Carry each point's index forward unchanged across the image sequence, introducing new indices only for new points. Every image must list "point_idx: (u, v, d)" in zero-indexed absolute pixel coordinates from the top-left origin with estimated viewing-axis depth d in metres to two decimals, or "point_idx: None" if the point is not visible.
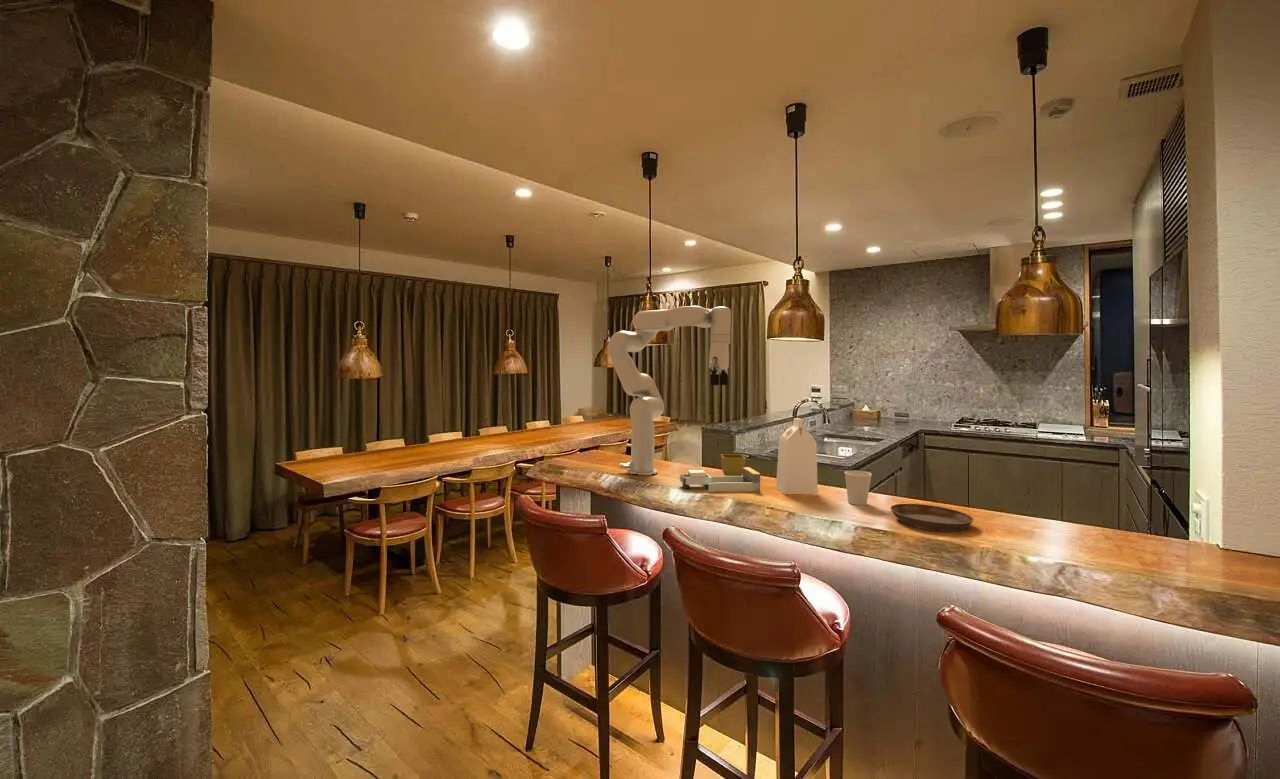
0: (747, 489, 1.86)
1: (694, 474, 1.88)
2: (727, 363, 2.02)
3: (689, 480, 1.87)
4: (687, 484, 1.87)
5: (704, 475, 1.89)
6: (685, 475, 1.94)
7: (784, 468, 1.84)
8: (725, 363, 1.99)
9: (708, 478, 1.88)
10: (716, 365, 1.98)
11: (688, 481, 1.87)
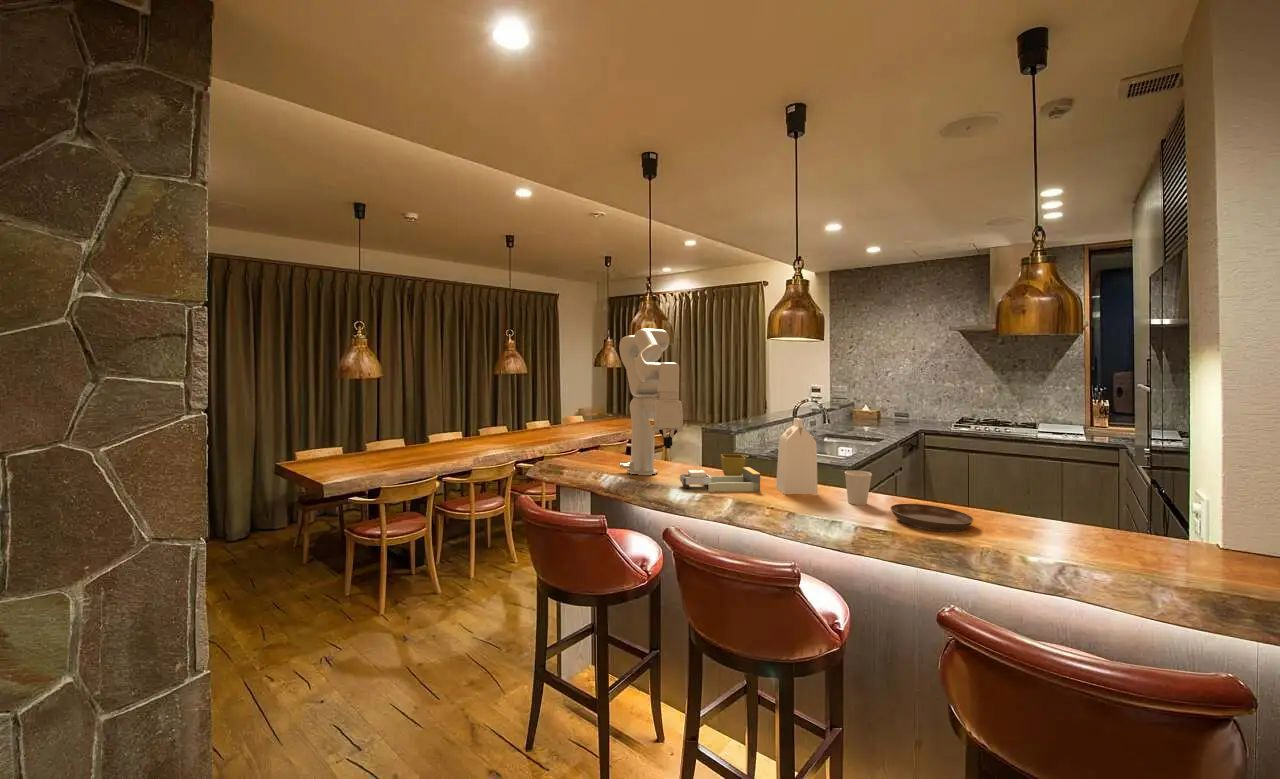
0: (747, 489, 1.86)
1: (694, 474, 1.88)
2: None
3: (689, 480, 1.87)
4: (687, 484, 1.87)
5: (704, 475, 1.89)
6: (685, 475, 1.94)
7: (784, 468, 1.84)
8: None
9: (708, 478, 1.88)
10: None
11: (688, 481, 1.87)
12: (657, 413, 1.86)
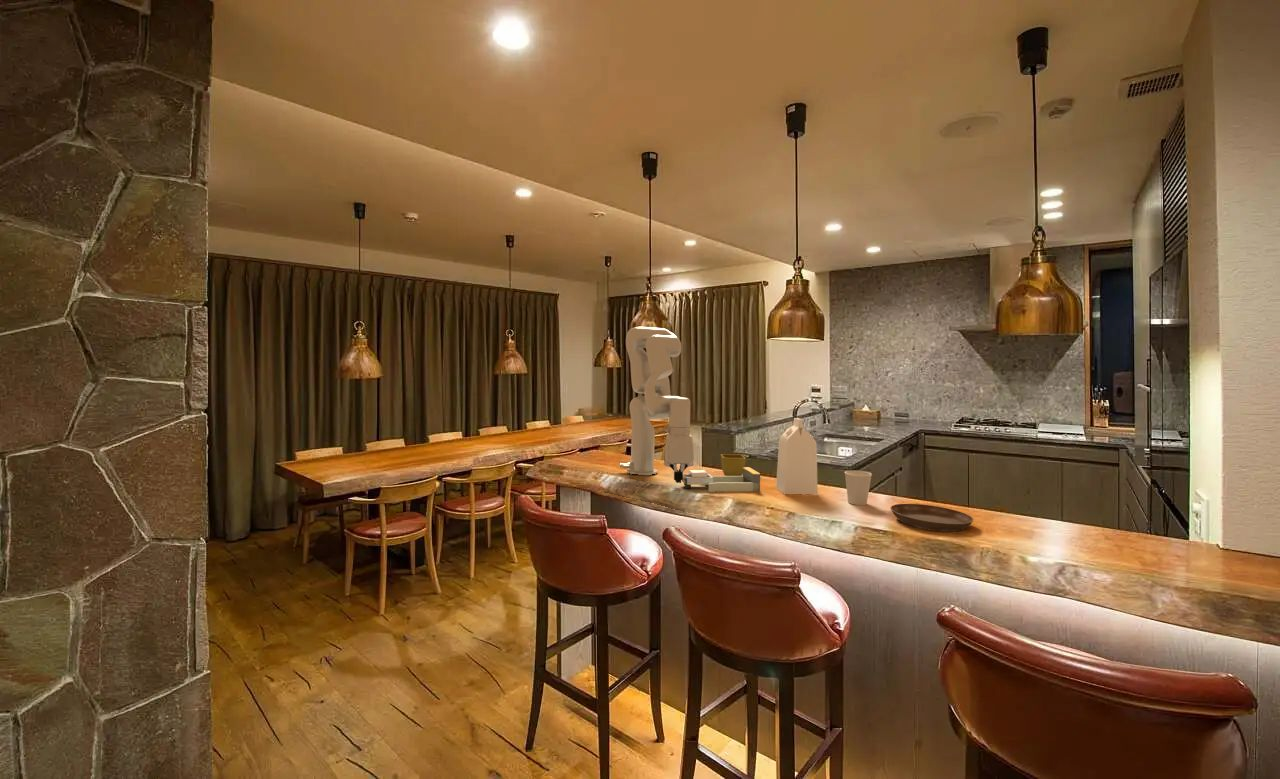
0: (747, 489, 1.86)
1: (696, 474, 1.88)
2: None
3: (691, 480, 1.87)
4: (689, 484, 1.88)
5: (706, 475, 1.89)
6: (687, 475, 1.94)
7: (784, 468, 1.84)
8: None
9: (710, 478, 1.88)
10: None
11: (690, 481, 1.87)
12: (668, 448, 1.87)
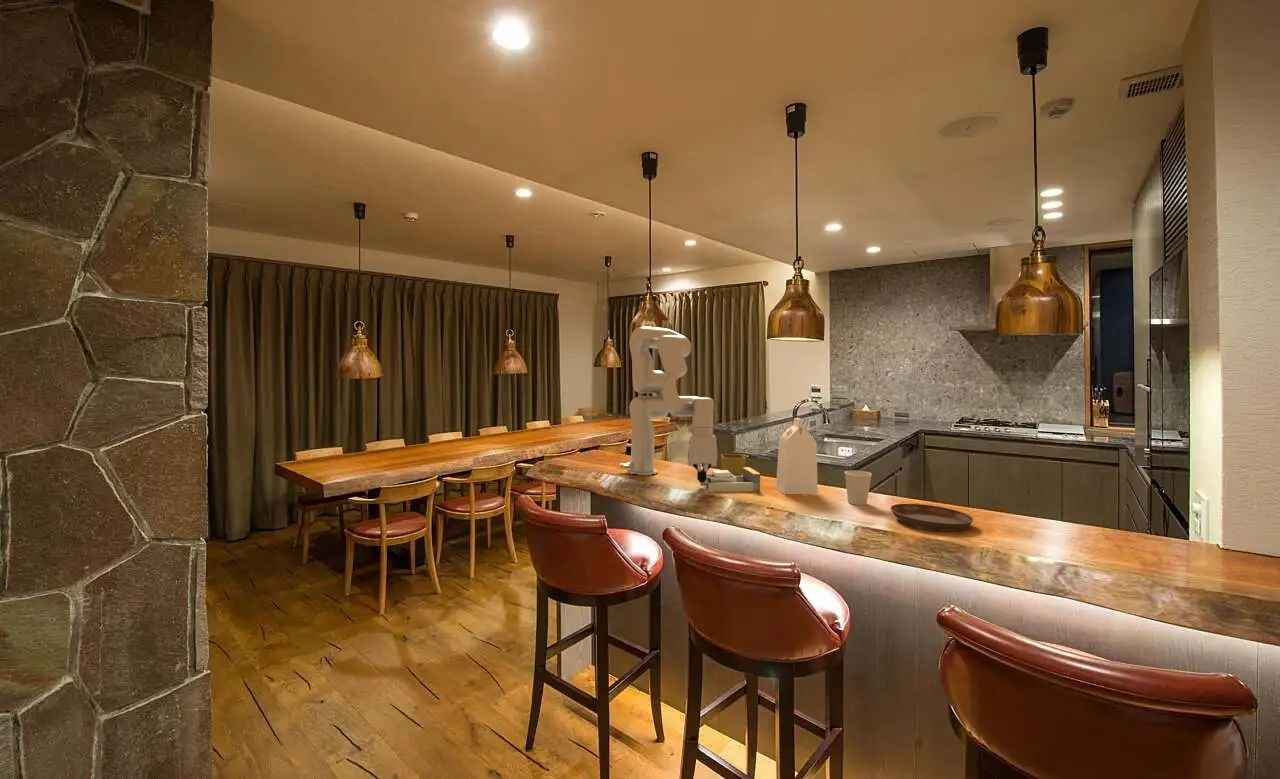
0: (747, 489, 1.86)
1: (719, 474, 1.89)
2: None
3: (714, 480, 1.88)
4: None
5: (729, 475, 1.89)
6: (709, 475, 1.94)
7: (784, 468, 1.84)
8: None
9: (733, 478, 1.89)
10: None
11: (713, 481, 1.88)
12: (692, 448, 1.88)
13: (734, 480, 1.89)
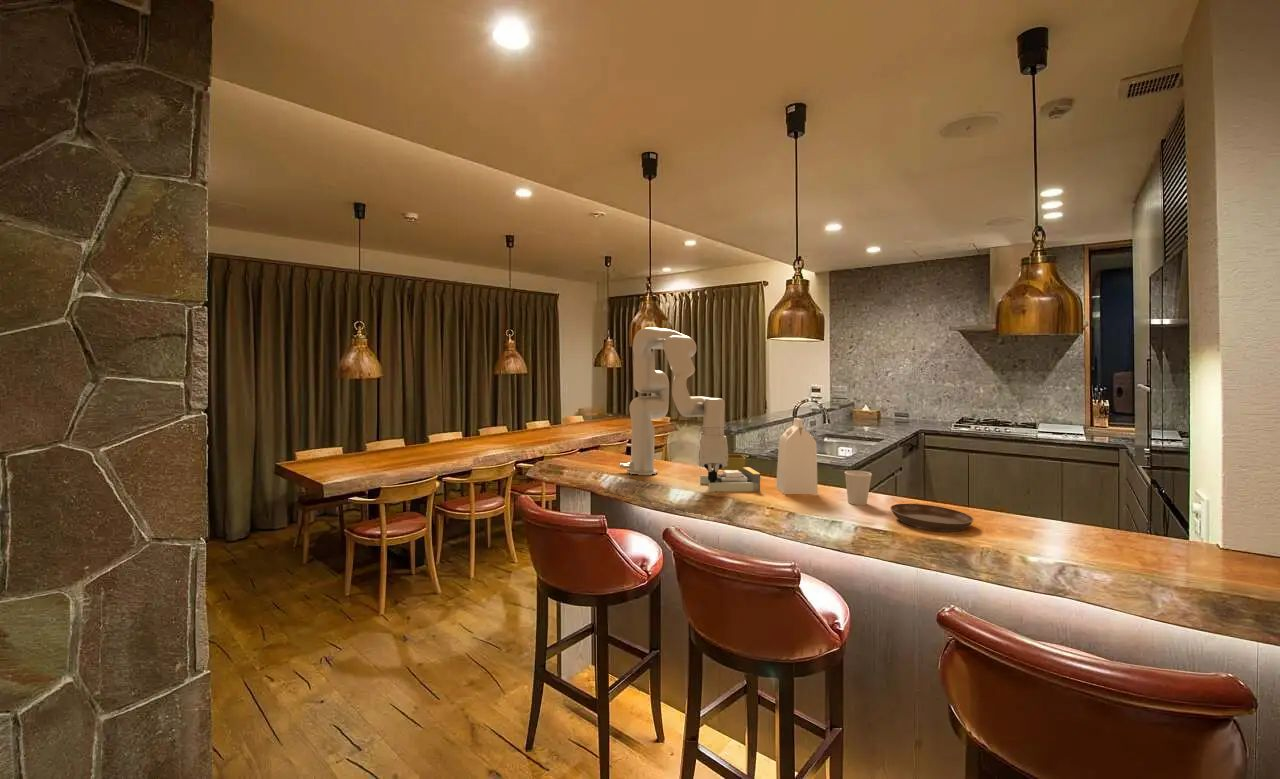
0: (747, 489, 1.86)
1: (730, 474, 1.90)
2: None
3: (725, 480, 1.89)
4: None
5: (740, 475, 1.90)
6: (720, 475, 1.95)
7: (784, 468, 1.84)
8: None
9: (744, 478, 1.89)
10: None
11: (724, 481, 1.89)
12: (703, 448, 1.88)
13: (745, 480, 1.89)
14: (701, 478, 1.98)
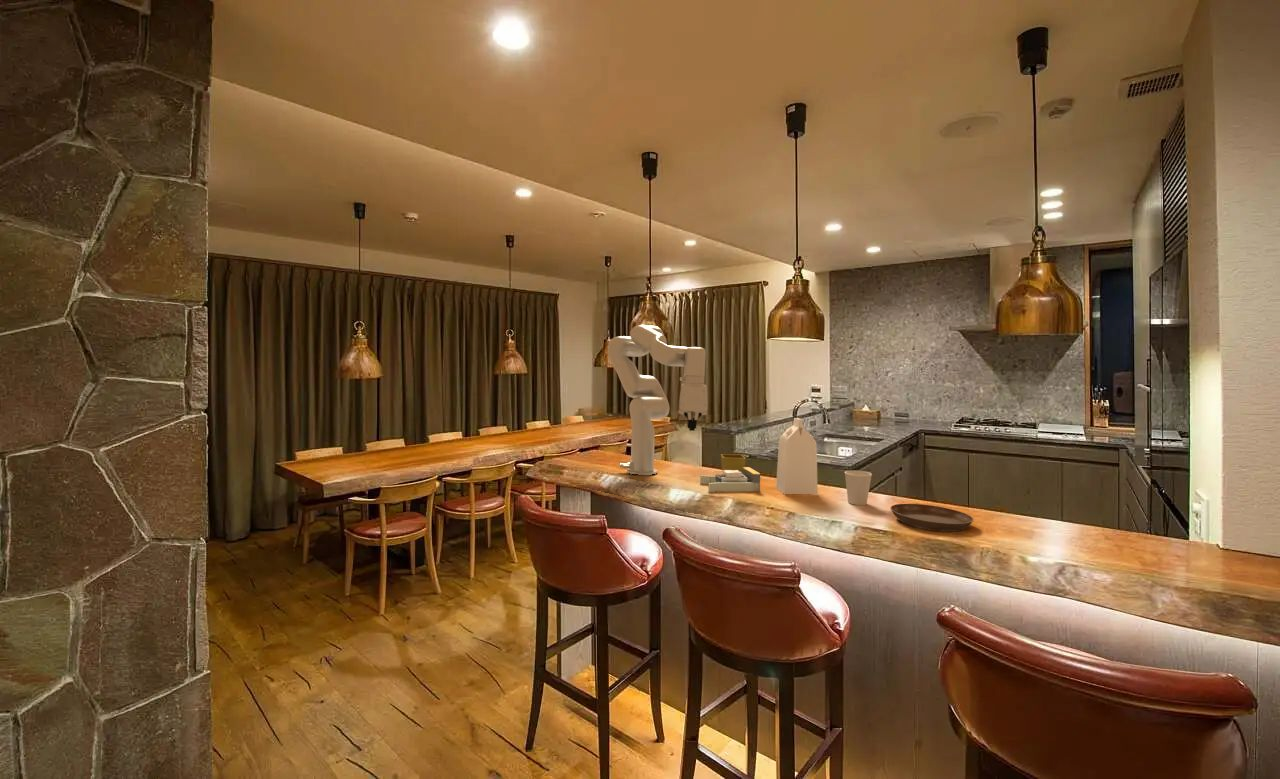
0: (747, 489, 1.86)
1: (730, 474, 1.90)
2: None
3: (725, 480, 1.89)
4: None
5: (740, 475, 1.90)
6: (720, 475, 1.95)
7: (784, 468, 1.84)
8: None
9: (744, 478, 1.89)
10: None
11: (724, 481, 1.89)
12: (683, 396, 1.92)
13: (745, 480, 1.89)
14: (701, 478, 1.98)
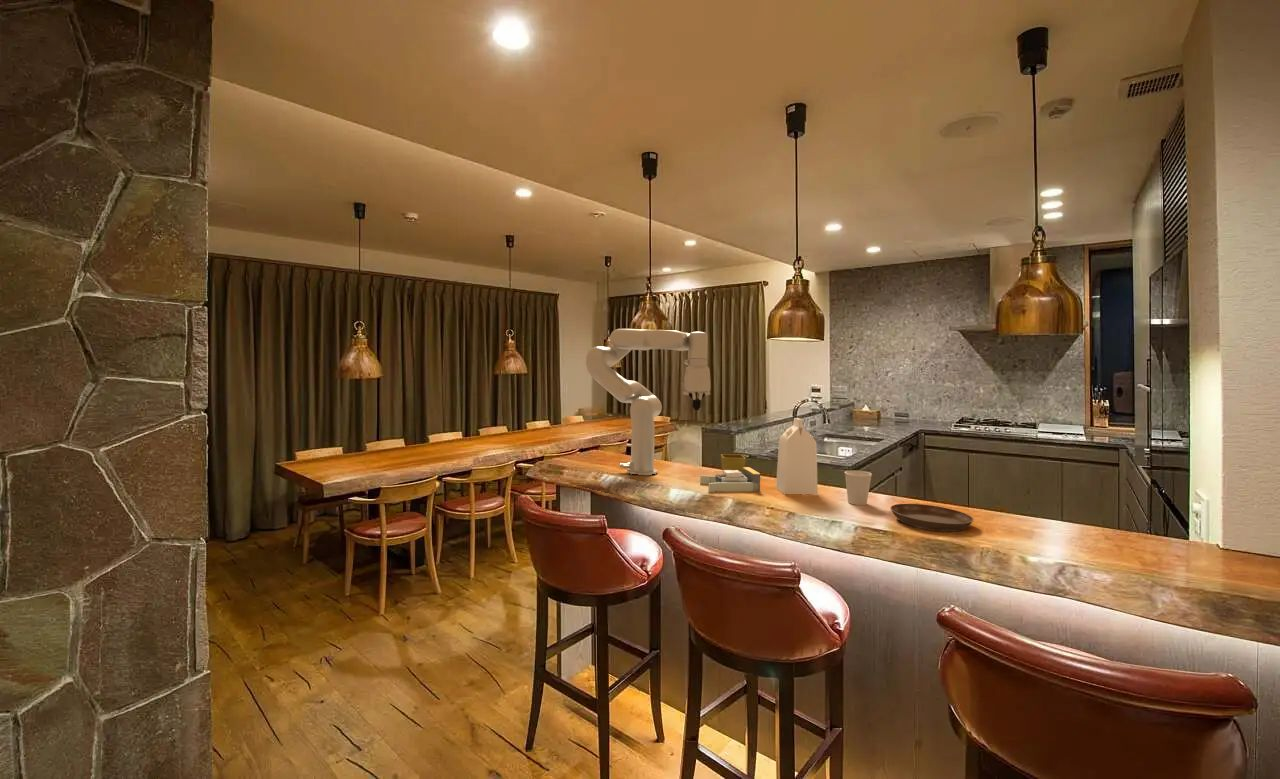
0: (747, 489, 1.86)
1: (730, 474, 1.90)
2: None
3: (725, 480, 1.89)
4: None
5: (740, 475, 1.90)
6: (720, 475, 1.95)
7: (784, 468, 1.84)
8: None
9: (744, 478, 1.89)
10: None
11: (724, 481, 1.89)
12: (687, 378, 2.05)
13: (745, 480, 1.89)
14: (701, 478, 1.98)
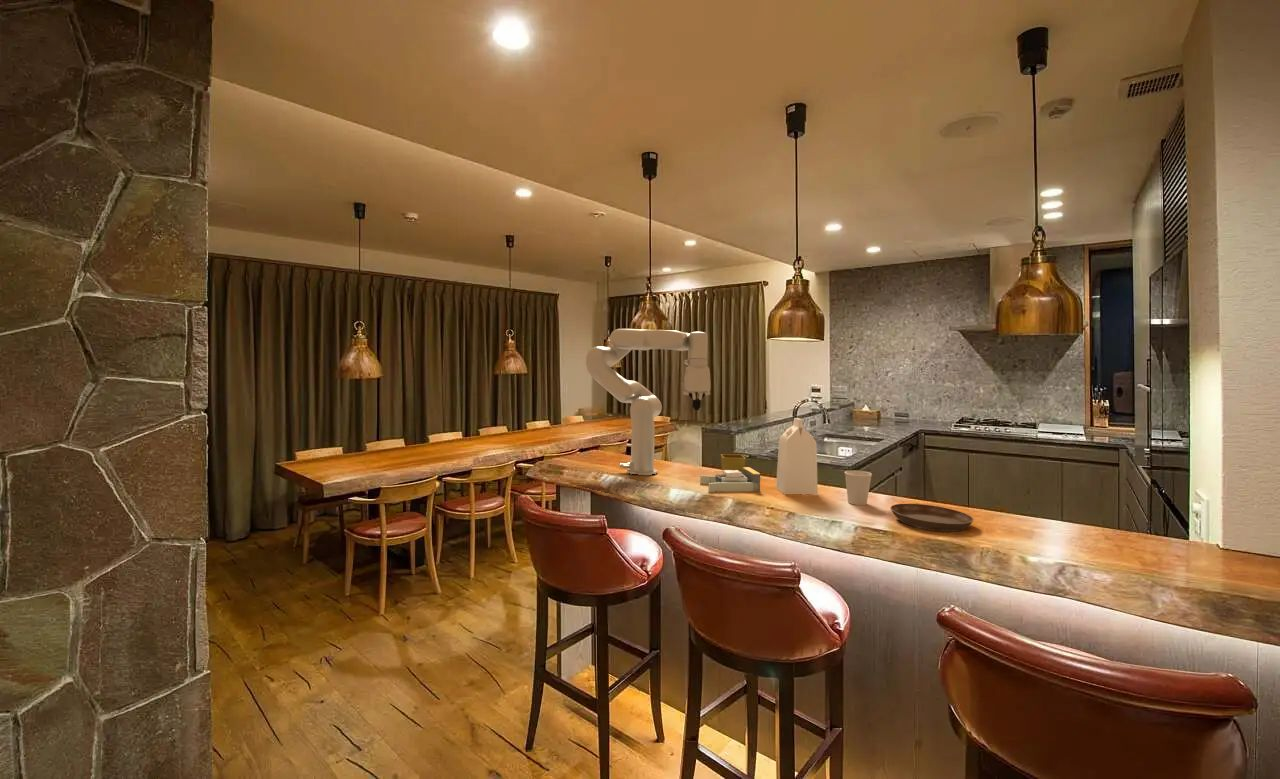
0: (747, 489, 1.86)
1: (730, 474, 1.90)
2: None
3: (725, 480, 1.89)
4: None
5: (740, 475, 1.90)
6: (720, 475, 1.95)
7: (784, 468, 1.84)
8: None
9: (744, 478, 1.89)
10: None
11: (724, 481, 1.89)
12: (687, 378, 2.05)
13: (745, 480, 1.89)
14: (701, 478, 1.98)
